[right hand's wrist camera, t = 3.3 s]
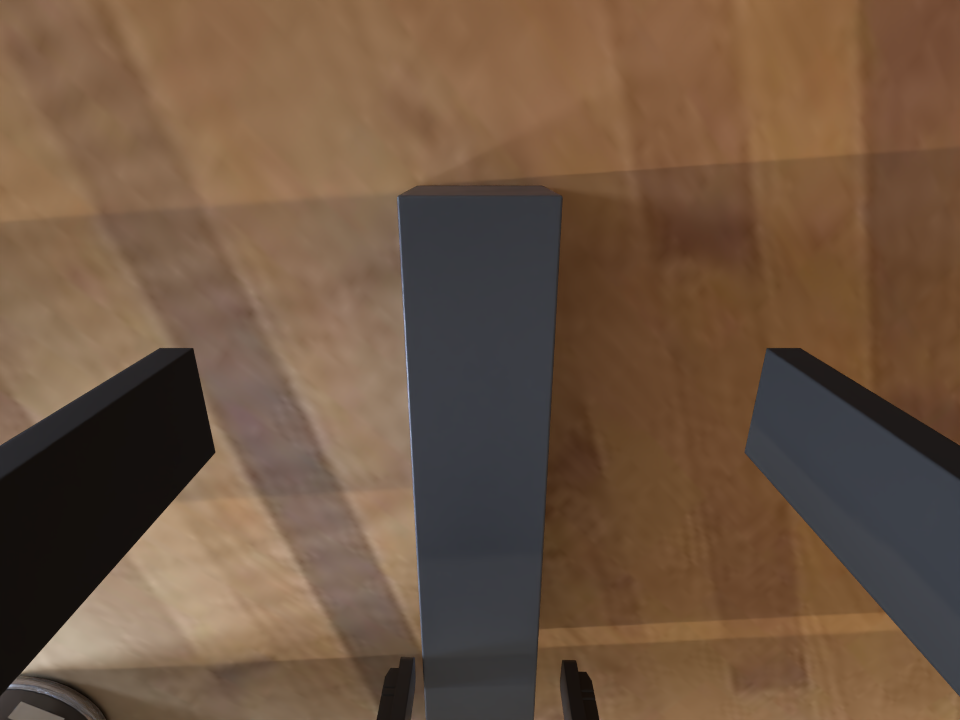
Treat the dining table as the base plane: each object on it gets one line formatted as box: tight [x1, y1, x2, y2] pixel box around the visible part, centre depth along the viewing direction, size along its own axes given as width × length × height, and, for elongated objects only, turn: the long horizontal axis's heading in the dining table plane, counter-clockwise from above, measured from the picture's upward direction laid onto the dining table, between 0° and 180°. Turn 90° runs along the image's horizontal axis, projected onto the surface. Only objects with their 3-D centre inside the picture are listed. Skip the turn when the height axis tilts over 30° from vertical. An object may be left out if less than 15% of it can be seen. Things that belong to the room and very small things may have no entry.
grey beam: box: [397, 186, 563, 720], centre depth 27 cm, size 6×28×6 cm, turn 0°
